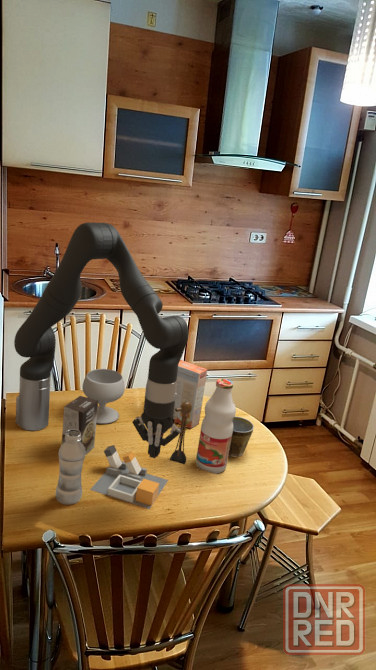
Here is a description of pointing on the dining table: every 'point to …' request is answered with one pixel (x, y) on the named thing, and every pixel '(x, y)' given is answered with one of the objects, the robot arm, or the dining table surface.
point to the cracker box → (189, 391)
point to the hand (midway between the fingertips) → (153, 456)
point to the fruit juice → (216, 429)
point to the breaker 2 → (132, 463)
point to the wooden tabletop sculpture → (181, 434)
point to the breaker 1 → (113, 457)
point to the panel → (125, 484)
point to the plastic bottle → (70, 468)
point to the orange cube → (147, 492)
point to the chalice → (104, 392)
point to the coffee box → (81, 420)
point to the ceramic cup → (240, 436)
